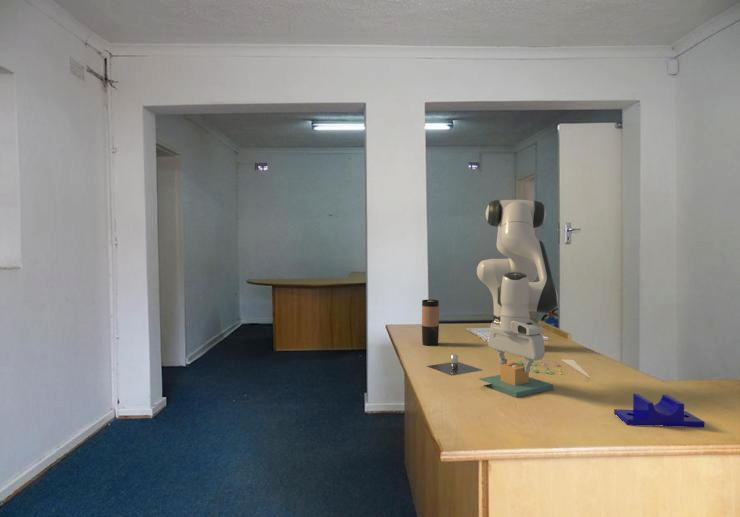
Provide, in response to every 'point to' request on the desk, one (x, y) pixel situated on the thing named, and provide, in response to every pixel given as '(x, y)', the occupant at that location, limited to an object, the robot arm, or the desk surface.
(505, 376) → the collar
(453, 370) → the stand
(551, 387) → the hub plate
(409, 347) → the desk surface
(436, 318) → the travel mug
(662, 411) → the mounting bracket
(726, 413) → the desk surface
